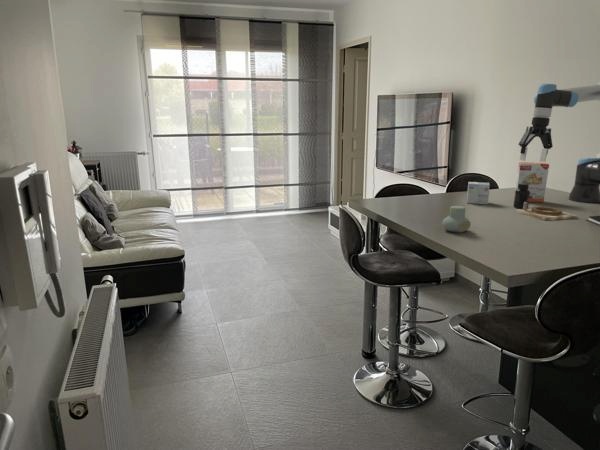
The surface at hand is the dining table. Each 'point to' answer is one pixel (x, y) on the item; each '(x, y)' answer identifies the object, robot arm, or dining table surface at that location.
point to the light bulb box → (478, 193)
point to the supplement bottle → (521, 196)
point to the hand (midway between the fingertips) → (532, 161)
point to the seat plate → (547, 217)
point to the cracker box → (533, 179)
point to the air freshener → (456, 220)
